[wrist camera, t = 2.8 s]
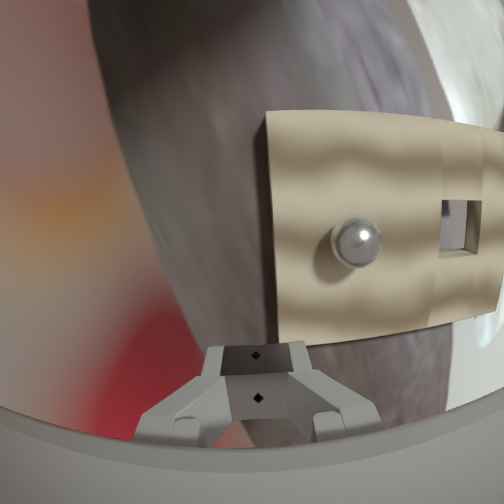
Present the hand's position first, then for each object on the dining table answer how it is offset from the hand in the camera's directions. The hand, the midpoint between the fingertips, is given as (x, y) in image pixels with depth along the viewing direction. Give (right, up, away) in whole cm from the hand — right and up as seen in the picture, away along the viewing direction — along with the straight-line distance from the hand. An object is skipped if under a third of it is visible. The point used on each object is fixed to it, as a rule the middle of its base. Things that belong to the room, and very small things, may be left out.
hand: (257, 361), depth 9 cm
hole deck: (+15, +6, +16) cm, 23 cm away
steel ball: (+8, +4, +12) cm, 15 cm away
